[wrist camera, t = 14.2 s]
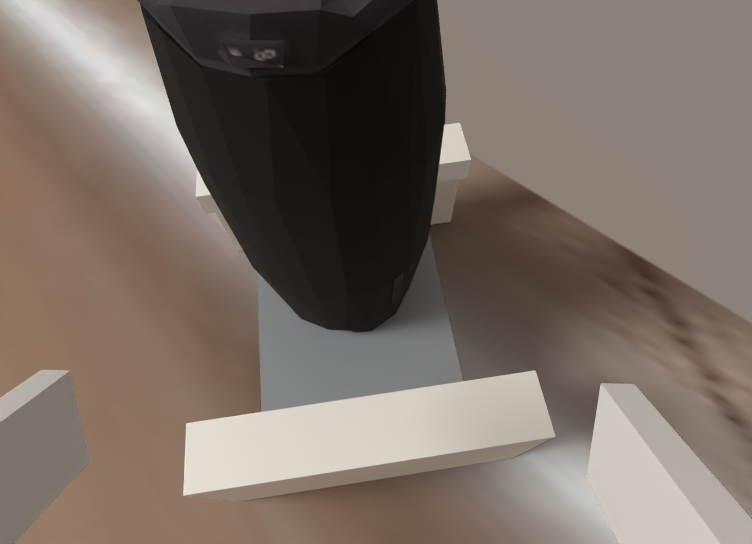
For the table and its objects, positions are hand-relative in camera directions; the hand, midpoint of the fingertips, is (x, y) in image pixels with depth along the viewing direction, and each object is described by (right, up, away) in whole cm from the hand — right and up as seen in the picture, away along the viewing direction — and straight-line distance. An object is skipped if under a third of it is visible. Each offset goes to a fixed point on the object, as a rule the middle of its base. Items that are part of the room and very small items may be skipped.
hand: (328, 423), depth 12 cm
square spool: (0, -1, +26) cm, 26 cm away
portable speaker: (-1, +3, +17) cm, 18 cm away
